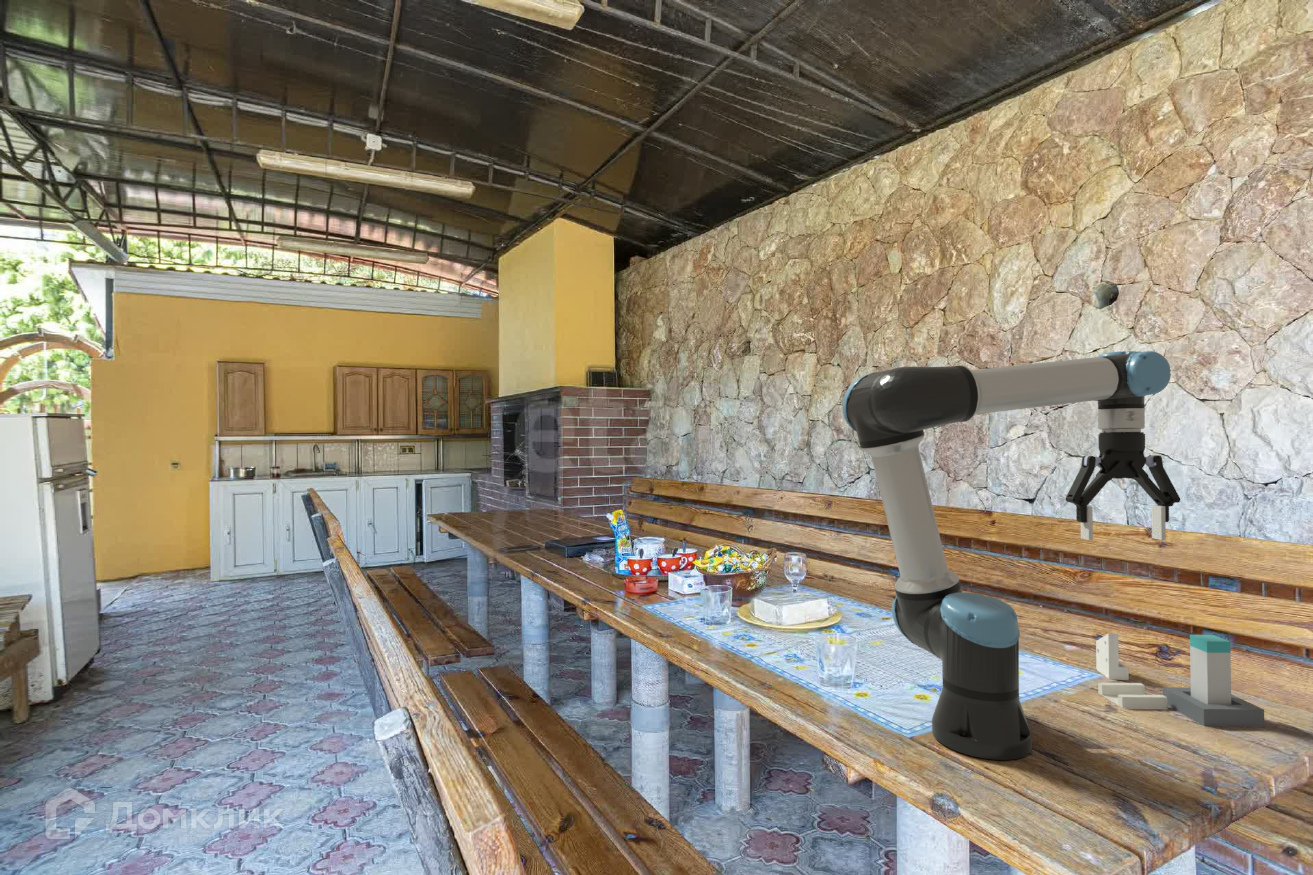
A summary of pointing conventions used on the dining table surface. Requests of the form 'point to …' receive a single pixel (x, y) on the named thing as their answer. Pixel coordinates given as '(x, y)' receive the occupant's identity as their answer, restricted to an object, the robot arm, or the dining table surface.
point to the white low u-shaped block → (1131, 696)
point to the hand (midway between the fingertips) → (1122, 539)
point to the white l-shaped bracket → (1110, 658)
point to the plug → (1210, 669)
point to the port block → (1214, 709)
